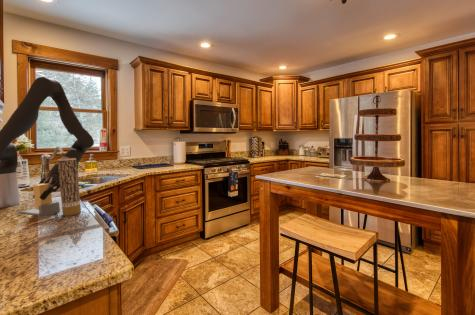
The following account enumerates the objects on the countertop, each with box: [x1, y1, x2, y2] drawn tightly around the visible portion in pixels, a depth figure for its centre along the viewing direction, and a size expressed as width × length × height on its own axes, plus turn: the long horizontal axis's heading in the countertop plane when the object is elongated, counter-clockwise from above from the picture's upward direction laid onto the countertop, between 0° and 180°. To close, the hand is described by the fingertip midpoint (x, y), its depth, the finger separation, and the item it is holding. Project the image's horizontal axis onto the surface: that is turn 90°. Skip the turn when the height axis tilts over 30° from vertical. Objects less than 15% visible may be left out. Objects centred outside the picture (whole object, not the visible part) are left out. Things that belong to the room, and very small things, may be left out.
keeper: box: [32, 183, 53, 210], centre depth 111 cm, size 4×4×11 cm
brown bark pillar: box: [57, 158, 82, 217], centre depth 109 cm, size 7×7×25 cm
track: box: [18, 201, 61, 217], centre depth 113 cm, size 18×7×5 cm, turn 67°
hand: (38, 198), depth 110 cm, fingers closed on keeper, 4 cm apart
